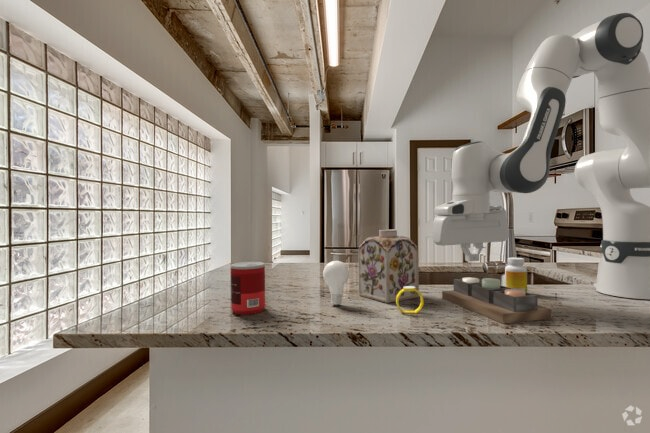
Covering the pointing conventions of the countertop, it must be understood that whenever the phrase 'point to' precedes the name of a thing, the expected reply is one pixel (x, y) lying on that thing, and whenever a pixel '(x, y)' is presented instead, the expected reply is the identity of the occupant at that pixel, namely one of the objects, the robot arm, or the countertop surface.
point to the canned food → (247, 287)
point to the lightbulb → (336, 280)
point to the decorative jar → (387, 267)
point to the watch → (409, 288)
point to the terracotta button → (514, 292)
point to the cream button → (470, 280)
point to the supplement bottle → (516, 274)
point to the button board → (496, 302)
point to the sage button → (490, 283)
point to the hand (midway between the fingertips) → (472, 261)
